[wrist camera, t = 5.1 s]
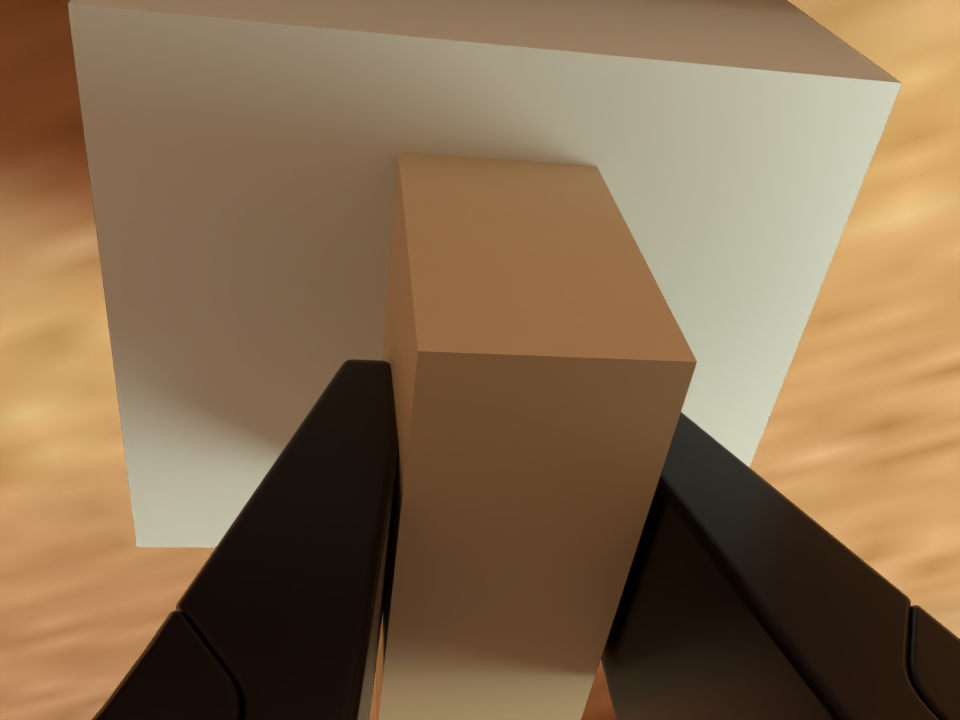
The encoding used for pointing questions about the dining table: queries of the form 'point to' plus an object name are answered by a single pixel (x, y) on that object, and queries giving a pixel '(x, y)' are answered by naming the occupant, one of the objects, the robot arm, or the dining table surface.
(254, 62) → the square base with post
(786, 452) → the dining table surface
